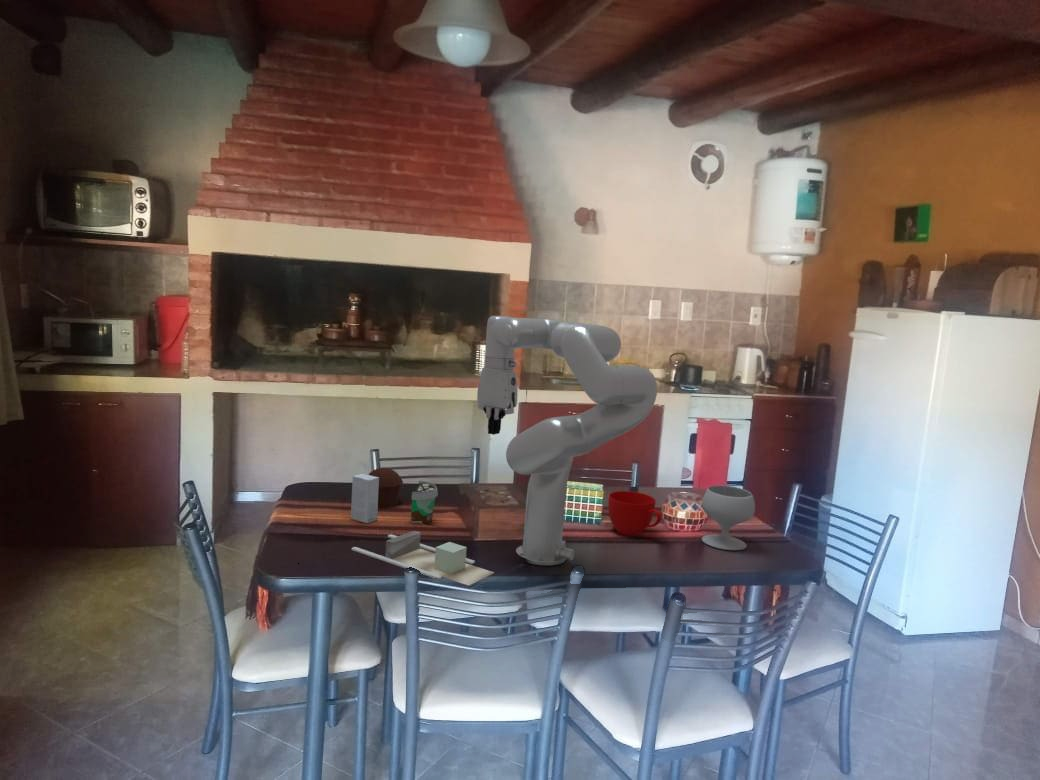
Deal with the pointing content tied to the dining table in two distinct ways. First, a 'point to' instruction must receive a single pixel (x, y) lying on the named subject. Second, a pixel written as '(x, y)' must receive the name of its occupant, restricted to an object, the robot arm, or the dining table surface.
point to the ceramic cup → (632, 512)
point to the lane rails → (403, 563)
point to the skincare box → (364, 498)
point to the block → (450, 557)
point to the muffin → (387, 486)
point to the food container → (423, 503)
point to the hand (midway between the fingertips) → (493, 433)
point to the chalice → (727, 514)
